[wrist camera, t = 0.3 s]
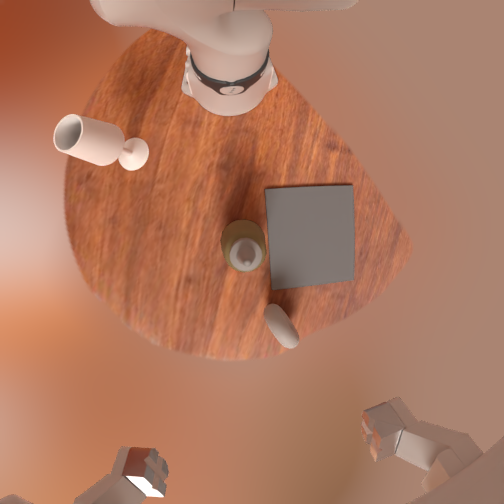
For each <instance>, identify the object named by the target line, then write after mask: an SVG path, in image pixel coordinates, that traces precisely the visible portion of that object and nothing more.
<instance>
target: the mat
mask: <svg viewBox="0 0 504 504" xmlns="http://www.w3.org/2000/svg"><path fill="white" fill-rule="evenodd" d="M265 200H266V213H267V227H268V241H269V256H270V271H271V287H272V290H278V289H287V288H296V287H304V286H312V285H320V284H328V283H336V282H343V281H350V280H354V259H355V227H354V196H353V185H348V186H314V187H293V188H276V189H265Z"/></svg>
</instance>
